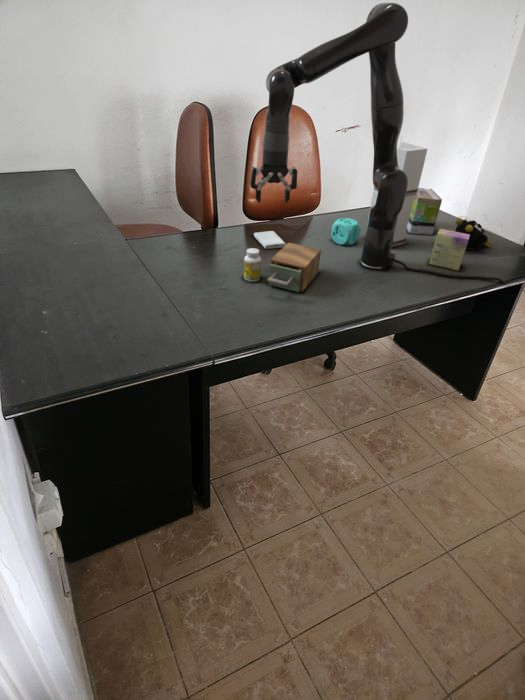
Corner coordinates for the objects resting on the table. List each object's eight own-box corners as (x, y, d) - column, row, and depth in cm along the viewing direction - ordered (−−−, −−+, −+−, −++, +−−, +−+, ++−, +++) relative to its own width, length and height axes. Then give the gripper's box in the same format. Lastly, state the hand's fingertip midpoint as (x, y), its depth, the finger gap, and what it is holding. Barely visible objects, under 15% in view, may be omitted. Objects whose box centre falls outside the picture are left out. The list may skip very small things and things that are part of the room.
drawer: (292, 300, 141) (294, 279, 137) (260, 292, 144) (261, 272, 141) (313, 273, 157) (315, 255, 153) (284, 267, 160) (286, 248, 156)
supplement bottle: (262, 280, 152) (264, 253, 147) (247, 283, 151) (248, 255, 145) (256, 273, 156) (257, 246, 151) (241, 275, 155) (242, 248, 149)
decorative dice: (346, 247, 178) (350, 227, 174) (329, 241, 183) (332, 221, 178) (358, 242, 183) (361, 222, 179) (341, 236, 188) (344, 216, 183)
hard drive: (253, 232, 182) (265, 244, 172) (273, 230, 184) (286, 242, 175) (253, 236, 183) (265, 249, 173) (273, 234, 185) (285, 247, 176)
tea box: (433, 235, 194) (443, 199, 185) (408, 233, 193) (417, 197, 185) (423, 222, 206) (432, 187, 197) (400, 220, 206) (408, 186, 197)
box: (460, 265, 171) (470, 233, 164) (458, 271, 166) (468, 239, 159) (431, 258, 174) (439, 227, 167) (428, 264, 170) (437, 233, 163)
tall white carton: (404, 243, 185) (427, 148, 164) (385, 248, 179) (406, 151, 159) (383, 233, 192) (402, 141, 172) (364, 238, 187) (382, 143, 167)
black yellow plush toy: (484, 263, 182) (492, 234, 170) (446, 255, 188) (451, 226, 176) (494, 242, 187) (501, 213, 174) (456, 234, 193) (461, 205, 181)
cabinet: (302, 292, 148) (305, 267, 143) (268, 283, 151) (270, 259, 146) (317, 272, 159) (321, 249, 155) (286, 265, 163) (288, 242, 158)
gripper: (253, 149, 136) (251, 205, 145) (302, 150, 138) (296, 206, 147) (250, 143, 142) (248, 198, 151) (296, 144, 144) (292, 198, 153)
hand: (272, 201), depth 149 cm, fingers open, 8 cm apart
